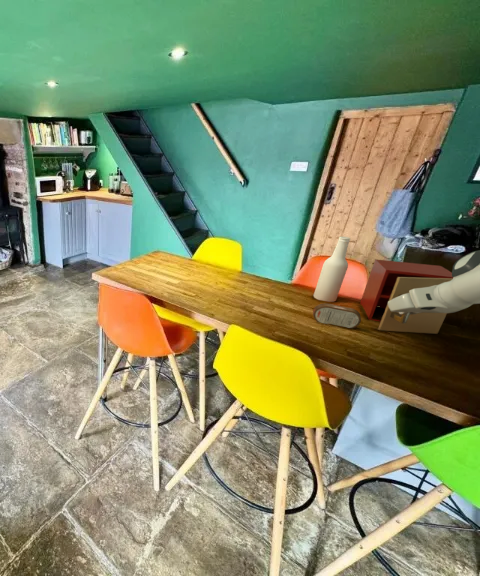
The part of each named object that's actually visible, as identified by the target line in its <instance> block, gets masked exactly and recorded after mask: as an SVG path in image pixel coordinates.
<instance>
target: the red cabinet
mask: <svg viewBox="0 0 480 576" xmlns="http://www.w3.org/2000/svg"><path fill="white" fill-rule="evenodd" d="M398 277H416V278H453V277H452V271H450V270H449V269H447V268H445V267H443V266H442V265H436V264H435V265H434V264H424V263H415V262H405V261H397V260H396V261H394V260H386V259H385V260H384V259H374V262H373V264H372V267H371V270H370V274H369V277H368V278H367V279H368V280H367V282H366V285H365V287H364V291H363V294H362V297H361V299H360V302H359V305H360V306H362V308H363V310H364V312H365V314H366V316H367V320H369V321H375V322H379V323H380V322H381V320H382V319H377V318H376V319H375V318H373V316H374V313H375V311H376V308H378V309H384V310H385V309H386V307H387V304H388V301H389V299H390V296H391V294H392V291H393V289H394V286H395V283H396V281H397V278H398ZM377 306H380V307H377Z"/></svg>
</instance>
